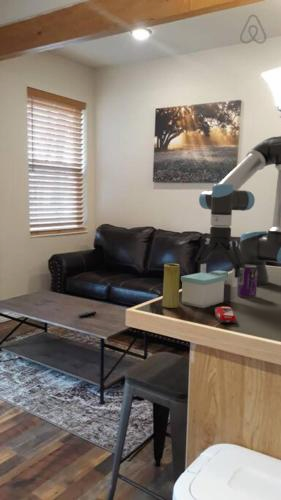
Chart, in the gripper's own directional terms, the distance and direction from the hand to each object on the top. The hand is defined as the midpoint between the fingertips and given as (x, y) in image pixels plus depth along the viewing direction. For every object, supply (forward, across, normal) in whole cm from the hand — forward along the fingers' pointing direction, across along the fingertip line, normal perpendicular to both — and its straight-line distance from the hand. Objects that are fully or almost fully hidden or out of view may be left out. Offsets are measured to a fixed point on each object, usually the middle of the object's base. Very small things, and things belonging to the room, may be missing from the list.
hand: (218, 283), depth 152 cm
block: (-1, 0, -7) cm, 7 cm away
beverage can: (+6, +6, +11) cm, 14 cm away
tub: (+6, 0, -10) cm, 11 cm away
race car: (+6, +16, -22) cm, 28 cm away
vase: (+6, -5, -22) cm, 23 cm away
